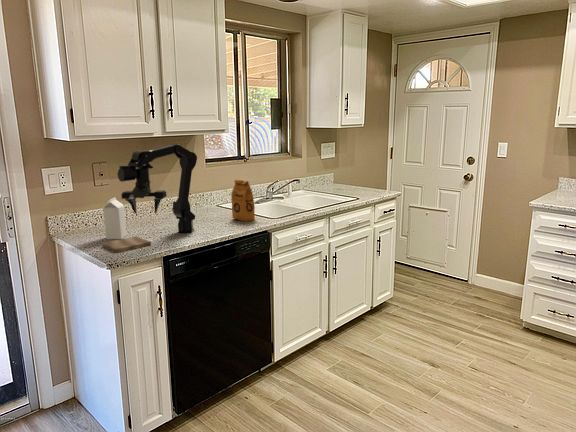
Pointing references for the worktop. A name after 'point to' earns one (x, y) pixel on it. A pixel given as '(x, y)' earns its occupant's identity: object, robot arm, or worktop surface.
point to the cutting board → (126, 244)
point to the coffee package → (242, 201)
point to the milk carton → (114, 219)
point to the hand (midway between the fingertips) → (145, 213)
